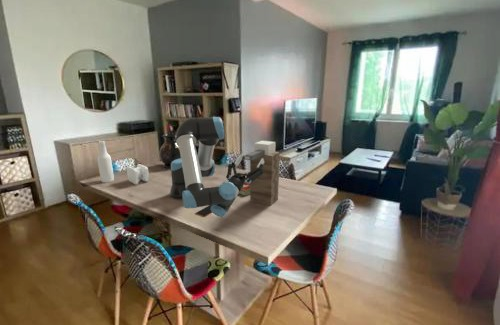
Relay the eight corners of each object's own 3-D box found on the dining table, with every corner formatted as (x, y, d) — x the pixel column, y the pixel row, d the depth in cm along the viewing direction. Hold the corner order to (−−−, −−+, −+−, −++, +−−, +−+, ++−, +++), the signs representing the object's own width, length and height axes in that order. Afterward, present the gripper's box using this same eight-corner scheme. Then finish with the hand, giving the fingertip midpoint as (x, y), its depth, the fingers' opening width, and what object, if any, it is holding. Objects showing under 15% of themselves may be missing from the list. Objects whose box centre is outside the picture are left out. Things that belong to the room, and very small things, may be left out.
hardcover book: (238, 184, 191) (238, 178, 190) (258, 192, 176) (258, 186, 175) (225, 188, 183) (224, 182, 182) (245, 197, 168) (245, 190, 167)
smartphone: (194, 214, 144) (194, 213, 144) (214, 203, 158) (214, 202, 158) (204, 218, 140) (204, 216, 140) (224, 206, 154) (224, 205, 154)
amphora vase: (188, 167, 231) (186, 135, 223) (163, 171, 220) (160, 137, 212) (181, 161, 248) (178, 132, 241) (157, 165, 237) (154, 134, 230)
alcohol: (100, 180, 197) (93, 141, 189) (112, 178, 202) (107, 139, 194) (102, 183, 191) (95, 142, 183) (115, 181, 196) (109, 141, 188)
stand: (270, 205, 154) (272, 156, 146) (250, 200, 161) (250, 153, 153) (278, 199, 163) (279, 152, 155) (258, 195, 170) (258, 149, 161)
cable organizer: (127, 180, 196) (125, 166, 193) (141, 177, 204) (139, 163, 201) (136, 185, 187) (134, 170, 183) (150, 182, 194) (148, 166, 191)
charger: (254, 161, 135) (254, 150, 133) (239, 159, 139) (239, 148, 138) (275, 152, 155) (275, 142, 154) (261, 150, 160) (261, 140, 158)
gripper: (215, 188, 137) (234, 160, 149) (257, 198, 124) (274, 166, 137) (209, 178, 132) (230, 150, 144) (253, 187, 119) (271, 156, 132)
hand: (251, 158), depth 140 cm, fingers open, 13 cm apart
